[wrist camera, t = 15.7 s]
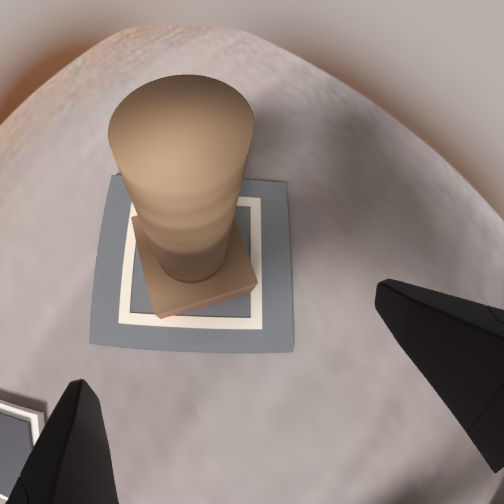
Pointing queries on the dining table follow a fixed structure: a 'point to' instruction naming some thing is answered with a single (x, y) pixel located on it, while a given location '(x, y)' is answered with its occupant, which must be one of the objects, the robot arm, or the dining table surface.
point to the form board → (207, 317)
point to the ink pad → (16, 441)
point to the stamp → (186, 188)
